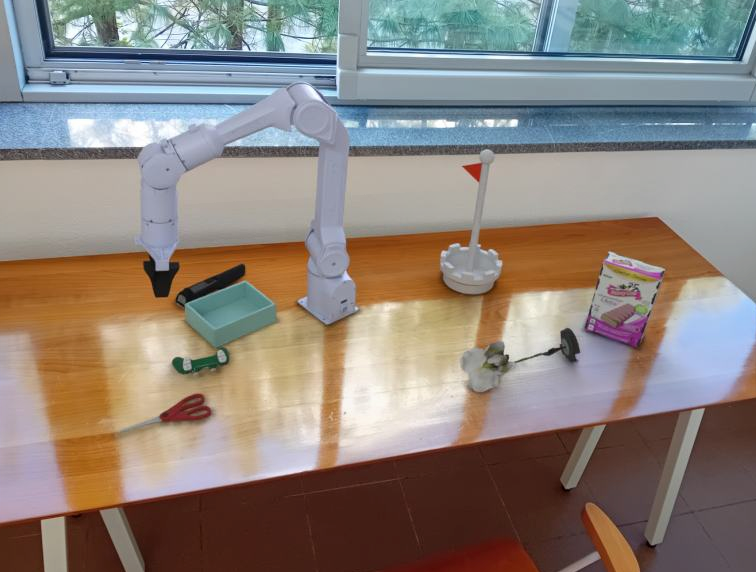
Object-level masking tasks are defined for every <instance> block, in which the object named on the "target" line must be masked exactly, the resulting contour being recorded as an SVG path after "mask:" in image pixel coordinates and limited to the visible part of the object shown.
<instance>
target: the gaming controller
mask: <svg viewBox="0 0 756 572" xmlns="http://www.w3.org/2000/svg"><path fill="white" fill-rule="evenodd" d="M229 362H230V354H229V351H228V349H227V348H226V347H224V346H219V347H217V350H216V352H215V354H214V355H209V356H204V357H201V358H196V359H191V358H190V357H188V356H186V357H184V358H183V357H181V356H175V357H174V358H173V359H172V361H171V365H172V366H173V368H174V370H175V371H176V372H177V373H179V374H182V375H183V376H184V375H190V374H192V376H197V375H200V372H201V371H204V370H210V372H214V371H217V369H218V368H219V367H223V366H226V365H228V364H229Z"/></svg>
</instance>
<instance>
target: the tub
mask: <svg viewBox="0 0 756 572" xmlns="http://www.w3.org/2000/svg"><path fill="white" fill-rule="evenodd" d="M184 312H185V322H186V323H187V324H188V325H189V326H190V327H191V328H193V329H194V331H196V332H197V333H198V334H199V335H200V336H201V337H203V338H204V339H205V340H206V341H207V342H208V343H209V344H210V345H211V346H212V347H214V348H215V349H218V348H220V347H222V346H223V345H225V344H228V343H231V342H233V341H234V340H235V341H236V340H237V339H240V338H242V337H244V336H246V335H249V334H250V333H253V332H256V331H257V330H259V329H263V328H264V327H267V326H269V325H271V324H274V323H277V304H276V303H275V302H274V301H273V300H272V299H270V298H269V297H268V296H267V295H265V294H264V293H263V292H261V291H260V290H259V289H257V288H256V287H255V286H254V285H252V284H251V282H249V281H248V280H245V279H244V280H243V281H240V282H238V283H235V284H231V285H229V286H228V287H226V288H224V289H222V290H216V291H214V292H212V293H210V294H208V295H206V296H204V297H201V298H198V299H196V300H193V301H191V302H188V303H186V304H185V308H184Z"/></svg>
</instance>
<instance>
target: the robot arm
mask: <svg viewBox="0 0 756 572" xmlns="http://www.w3.org/2000/svg"><path fill="white" fill-rule="evenodd" d="M292 126H294V128H295V130H296V131H297V133H299V134H301V135H303V136H305V137H306V138H310V139H313V140H315V141H317V142H318V144H319V145H318V160H317V175H316V176H317V177H316V190H315V191H316V194H315V209H314V218H313V219H312V220H311V221H310V228H309V230H308V232H307V234H306V235H305V237H304V245H305V248H306V249H307V251H308V252H309V259H308V261H307V264H306V265H307V266H306V267H307V268H306V271H307V273H306V280H307V282H306V296H304V297H302V298H299V299H298V300H297V304H298V305H299V306H301V307H303V308H304V309H305V310H306V311H308V312H309V313H310V314H311V315H313V316H314V317H315V318H316V319H318V320H319V321H321V322H322V323H323V324H324V325H326V326H328V325H332V324H333V323H335V322H337V321H339V320H341V319H343V318H345V317H348V316H351V315H352V314H354V313H356V312H358V311H359V307H358V306H356V300H357V299H356V298H357V285H356V283H355V281H354V280H353V278H351V276H350V275H349V274H348V272H347V270H348V268H349V266H350V263H351V262H350V261H351V260H350V255H349V254H348V251H347V239H346V235H345V230H344V226H343V224H344V213H345V202H346V188H347V178H348V177H347V176H348V166H349V153H350V141H351V135H350V132H349V130H348V129H347V127H346V126H345V124H344V122H343V121H342V119H341V118H340V116H339V114H338V112H337V111H336V109H335V108H334V107H333V106H332V104H331V103H330V102H329V101H328V99H327V98H326V96H325V95H324V94H323V93H322V92H321V91H320V90H319V89H317V88H316V87H314V85H312V84H311V83H309V82H307V81H301V80H300V81H295V82H292V83H290V84H289V85H287V86H286V87H285V86H284V87H280V88H278V89H276V90H275V91H273V92H272V93H270V95H268V96H267V97H266V98H263V99H262V100H260V101H258V102H256V103H255V104H253V105H251V106H249V107H247V108H245V109H244V110H242V111H239V112H238V113H236V114H234V115H233V116H230V117H229V118H227V119H225V120H223V121H221V122H219V123H218V124H216V125H213V124H208V123H205V122H202V123H201V124H198V125H197V124H196V123H195V122H194V123H192V124H190V125H188V126H187V128H188V130H185V131H183V132H181V133H179V134H177V135H175V136H173V137H170V138H169V139H167V137H165V138H163V139H161V140H160V142H156V141H155V142H151V143H148V144H146V145H144V146H143V147H142V149H141V151H139V154H138V156H137V158H136V159H137V164H138V165H139V170H140V176H141V178H140V191H139V192H140V196H139V197H140V227H141V232H140V233H141V235H134V237H133V240H134V241H133V243H134V245H135V246H141V247H143V248H144V250H145V251H146V253H147V254H148V259H149V260H142V266H143V270H144V272H145V274H147V277H148V278H149V281H150V284H151V287H152V288H151V289H152V292H153V295H154V297H155V298H156V299H159V298H168V297H169V295H170V292H171V288H172V285H173V281H174V278H175V276H176V275H177V273H178V272H179V271H180V267H181V266H180V261H170V260H171V258H172V255H173V254H174V252H175V251H176V249H177V247H178V246H179V242H180V238H179V222H178V220H179V216H178V215H179V213H178V212H179V211H178V210H179V194H178V193H179V192H178V189H177V184H178V183H179V180H180V179H181V177H182V176H183V174H186V173H188V172H189V171H192V170H194V169H196V168H198V167H200V166H203V165H205V164H207V163H209V162H211V161H213V160H214V159H217V158H219V157H221V156H222V154H223V152H224V149H225V147H226V146H227V145H230V144H231V143H234V142H237V141H239V140H241V139H244V138H246V137H248V136H249V137H250V136H251V135H253V134H256V133H259V132H261V131H263V130H264V131H265V130H266V129H268V128H274V129H277V130H281V131H284V132H288V133H292Z"/></svg>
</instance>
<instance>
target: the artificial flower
mask: <svg viewBox="0 0 756 572" xmlns="http://www.w3.org/2000/svg"><path fill="white" fill-rule="evenodd" d="M559 332H560V343H559V347H552V348H549V349H548V350H547V351H544V352H539V353H536V354H533V355H531V356H528V357H523V358H520V359H518V360H514V361H509V360H510V355H509V354H507V353H506V354H505V349H506V346H505V342H504V341H502V340H498V341H495V342H490V343H489V344H488V346H487V347H486V348H485V350H484V349H483V348H481V347H478V346H477V347H472V348H471V349H469V350H466V351H464V352H463V354H462V355H461V357H460V363H459V364H460V369H461V370H462V372H463V373H465V374H468V375H469V376H468V378H467V383H468V388H469V389H471V390H473V391H474V392H476V393H483V392H486V391H488V390H490V389H494V388H497V387H498V385H499V376H504V375H507V374H509V373H510V372H511V371H513V370H515V369H516V367H517V363H522V362H524V361H528V360H531V359H534V358H537V357H540V356H543V357H550V356H552V355H554V354H556V353H557V352H559V351H561V354H562V355H563V356H565V358H566V359H567V360H568V361H569V362H573V363H578V362H579V361H580V360H579V359H577V357H576V355H579V354H581V348H580V344H579V341H578V339H577V336H576V334H575V333H574V331H573V330H572V329H571V328H570V327H565V328H564V329H561V330H560V331H559Z"/></svg>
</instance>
